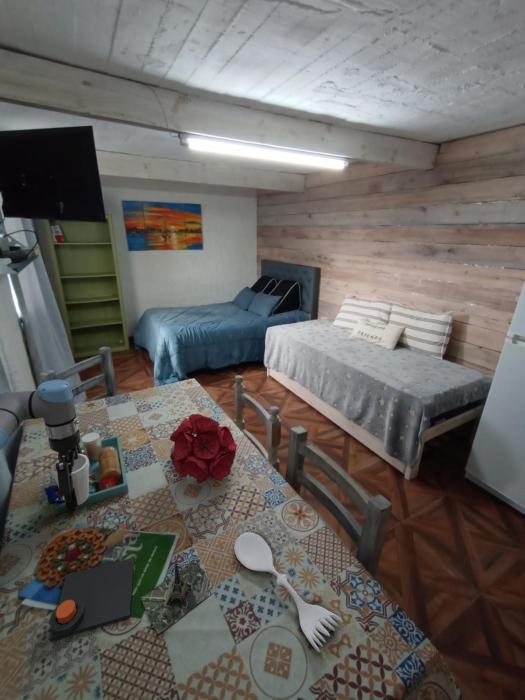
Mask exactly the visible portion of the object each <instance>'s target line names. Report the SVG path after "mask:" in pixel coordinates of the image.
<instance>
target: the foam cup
mask: <svg viewBox="0 0 525 700" xmlns="http://www.w3.org/2000/svg"><path fill="white" fill-rule="evenodd" d="M56 463H59V459H57V460H56V462H54V464H52V467H51V476H52V478H53V479H54V481H55V482H56V485H57V487H58V488H59V484H58V475H57V469H56ZM67 464H71V463H67ZM70 475H71V476H72V481H73V488H74V489H75V494H76V499H77V503H78V506H80V505H82V504H83V503H84V502H85V503H86V501H87V500H88V498H89V495H90V494H89V493H90V460H89V458H88V456H87V455H86V454H83V453H82V454H78V459H76V460H74V466H73V467H72V473H71V474H69V476H70ZM62 498H63V501H64V502H65V499H64V496H62Z"/></svg>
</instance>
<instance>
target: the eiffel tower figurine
mask: <svg viewBox="0 0 525 700" xmlns="http://www.w3.org/2000/svg"><path fill="white" fill-rule="evenodd" d="M174 559H175V560H174V574H173V575H170V577H168V578H167V579H165V580H164V581H162V582H161V583H159V584H158V585H157V586H155V587H154V588H152V589H151V590H150V591H149V592H146V594H144V595H143V596H142V597H140V601H141V602H142V605H143V607H144V609H145V611H146V613H147V615H148V618H149V619H150V621H151V623H152V625H153V627H154V629H155V631H156V633H157V635H160V634H161V633H163V632H164V631H166V630H167V629H169V627H171V626H172V625H174V624H175V623H176V622H177V621H179V620H180V619H181V618H182V617H183V616H184V615H186V614H187V613H189V612H190V611H191V610H192V609H193V608H194V607H196V606H197V605H199V604H200V603H202V602H203V601H204V600H205V599H207V598H209V596H212V594H214V593H215V592H217V588H216V587H215V585H214V584H213V583H212V581H211V580H210V579H209V577H208V576H207V575H206V573H205V572H204V570H203V569H202V567H201V566H200V565H199V563H198V562H197V560H196V559H194V560H192V561H191V562H189V563H188V564H186V565H185V566H184V567H182V568H181V569H180V570H179V566H178V560H177V558H174Z"/></svg>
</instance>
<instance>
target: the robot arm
mask: <svg viewBox="0 0 525 700" xmlns="http://www.w3.org/2000/svg"><path fill="white" fill-rule="evenodd" d="M72 391H73V390H72V388H71V384H70V382H68V381H67V380H65V379H52V380H46V381H43V382H42V383H40V384H39V385H38V386H37V388H36V390H26V391H25V390H24V391H11V392H10V391H4V392H0V451H1V450H3V448H4V447H5V446H6V445H7V444H8V442H9V440H10V439H11V438H12V437H13V435H14V434H15V432H16V431H17V429H18V428H19V427H20V426H21V424H22V423H23V422H24V421H28V420H38V419H43V422H44V426H45V432H46V435H47V437H48V438H47V440H48V443H49V448H50V450H52V451H53V452H56V453H57V460H59V463H56V462H55V463H56V469H57V475H58V484H59V487H58V491H59V492H58V495H59V497H63V496H64V498H63V500H64V499H65V501H64V503H65V507H66V509H67V510H69V509H74V508H78V506H79V505H78V503H77V499H76V494H75V489H74V488H73V481H72V476H71V475H70V476H69V474H71V473H72V467H73V466H74V460H76V459H78V454H83V451H82V448H81V445H80V443H81V440H82V439H81V433H80V430H79V424H80V420H78V419H77V418H78V417H77V413H76V407H75V401H74V393H73V392H72ZM67 463H71V464H67Z"/></svg>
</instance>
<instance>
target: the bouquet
mask: <svg viewBox="0 0 525 700" xmlns="http://www.w3.org/2000/svg"><path fill="white" fill-rule="evenodd" d="M220 424H221V423H220V422H218V421H217V420H215V419H214V418H212V417H208V416H206V415H203V414H199V413H193V414H190V415H189V417H188V418H187V417H186V418H184V419H183V420H182V421H181V422H180V425H179V426H177V428H176V429H175V430H174V431H173V432H172V433H171V434H170V435H169V438H168V440H169V441H171V442H172V443H174V444H173V445H172V447H170V456H169V458H170V459H171V462H172V465H173V468H174V469H175V472H176V474H177V475H179V477H180V478H179V479H184V478H186V477H187V476H189V477H191V478H193V479H196V483H197V485H201V484H202V483H203V482H206V481H207V480H209V479H211V478H212V479H213V480H215V481H217V482H218V481H219V482H222V481H223V480H224V479H226V478H227V477H229V476H230V475H231V473H232V466H233V465H234V463H235V462H234V461H235V458H236V452H237V448H238V445H237V444H236V441H235V439H234V437H233V434H232V432H231V429H230V428H229V427H228V426H226V425H224V426H223V425H221V426H220Z"/></svg>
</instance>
